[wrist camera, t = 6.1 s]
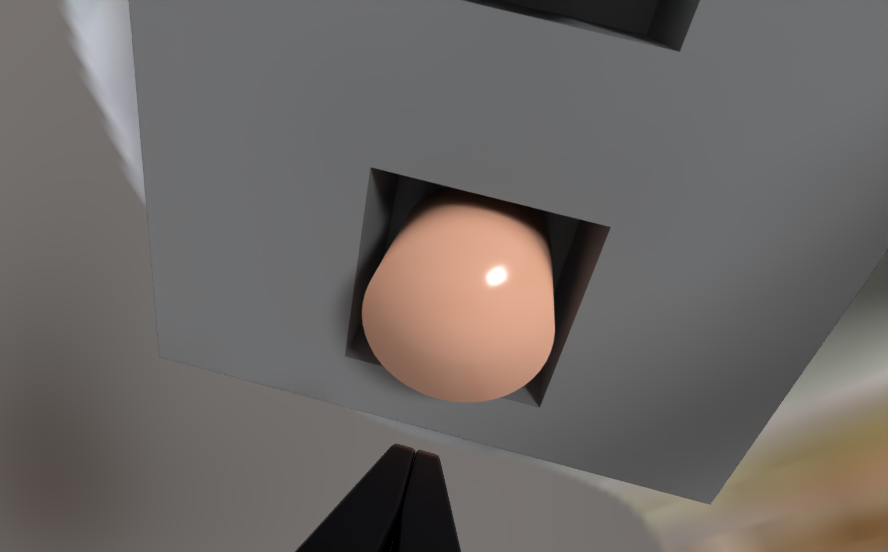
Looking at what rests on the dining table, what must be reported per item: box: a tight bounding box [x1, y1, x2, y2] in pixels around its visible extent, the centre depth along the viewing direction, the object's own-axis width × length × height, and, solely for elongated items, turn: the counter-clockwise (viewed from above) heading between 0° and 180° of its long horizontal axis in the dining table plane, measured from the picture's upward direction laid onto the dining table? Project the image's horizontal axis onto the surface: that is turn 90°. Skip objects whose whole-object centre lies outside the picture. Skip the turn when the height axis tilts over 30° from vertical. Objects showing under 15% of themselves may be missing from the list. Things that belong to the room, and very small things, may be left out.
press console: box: [129, 0, 888, 504], centre depth 14 cm, size 18×20×5 cm
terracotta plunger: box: [362, 186, 555, 403], centre depth 15 cm, size 5×5×4 cm
